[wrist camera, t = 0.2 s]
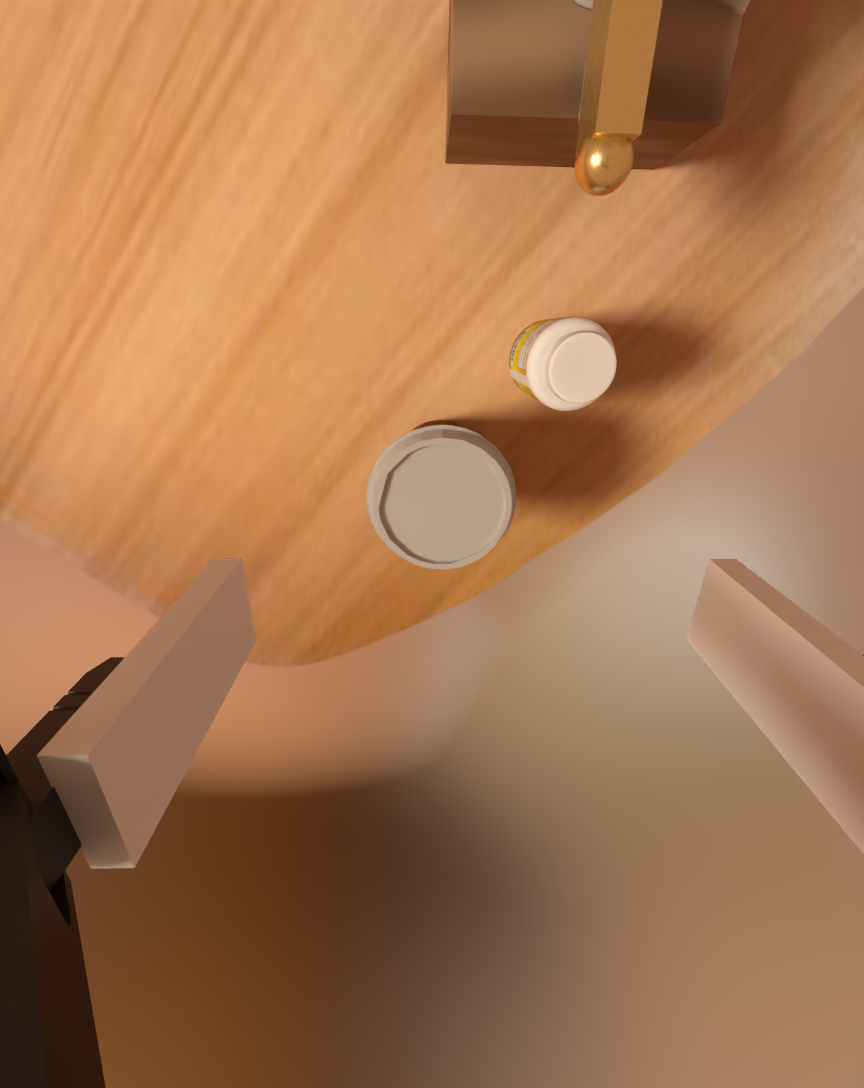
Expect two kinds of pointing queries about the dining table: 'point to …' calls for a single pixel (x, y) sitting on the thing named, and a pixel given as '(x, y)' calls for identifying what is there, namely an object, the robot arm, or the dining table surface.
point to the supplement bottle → (563, 362)
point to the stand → (576, 79)
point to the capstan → (614, 91)
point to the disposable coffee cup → (441, 496)
